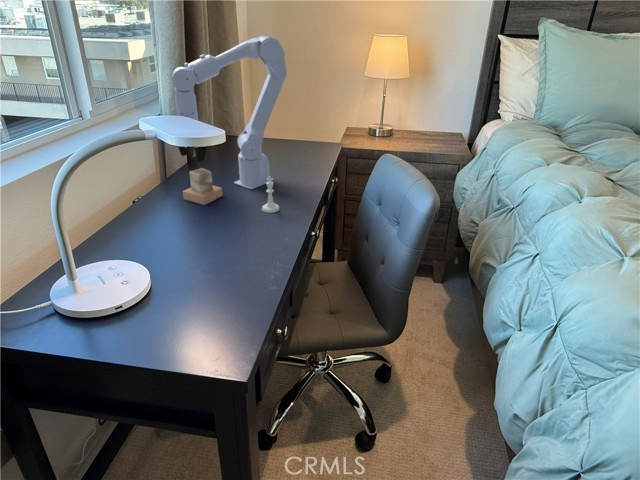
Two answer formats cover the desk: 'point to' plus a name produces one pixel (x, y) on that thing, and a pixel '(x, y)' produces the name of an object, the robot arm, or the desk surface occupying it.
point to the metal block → (201, 180)
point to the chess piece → (270, 199)
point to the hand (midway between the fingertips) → (192, 157)
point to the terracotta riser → (202, 195)
